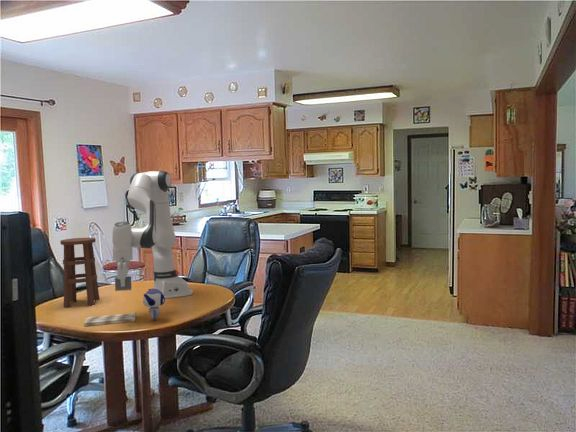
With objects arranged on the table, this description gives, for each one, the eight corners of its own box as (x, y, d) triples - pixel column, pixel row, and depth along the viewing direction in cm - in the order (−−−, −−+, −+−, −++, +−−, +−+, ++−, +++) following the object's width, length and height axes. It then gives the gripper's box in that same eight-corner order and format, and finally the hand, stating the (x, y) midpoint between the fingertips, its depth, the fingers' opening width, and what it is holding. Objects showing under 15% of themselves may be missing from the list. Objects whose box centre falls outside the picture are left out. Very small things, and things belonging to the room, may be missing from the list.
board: (135, 315, 233) (135, 312, 233) (134, 321, 223) (134, 318, 223) (87, 320, 227) (86, 317, 227) (84, 326, 217) (83, 323, 217)
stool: (84, 236, 271) (105, 238, 260) (88, 297, 274) (108, 301, 263) (50, 240, 256) (71, 242, 244) (55, 305, 258) (75, 310, 247)
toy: (163, 323, 219) (162, 290, 218) (141, 324, 218) (139, 291, 217) (167, 316, 229) (166, 285, 228) (146, 317, 229) (145, 286, 227)
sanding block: (131, 288, 230) (131, 276, 229) (131, 290, 226) (130, 277, 226) (115, 289, 228) (115, 276, 227) (115, 290, 224) (115, 278, 224)
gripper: (128, 259, 217) (129, 289, 218) (131, 253, 237) (131, 281, 237) (113, 259, 215) (114, 290, 216) (117, 253, 235) (118, 281, 236)
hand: (123, 285), depth 227 cm, fingers closed on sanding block, 3 cm apart
